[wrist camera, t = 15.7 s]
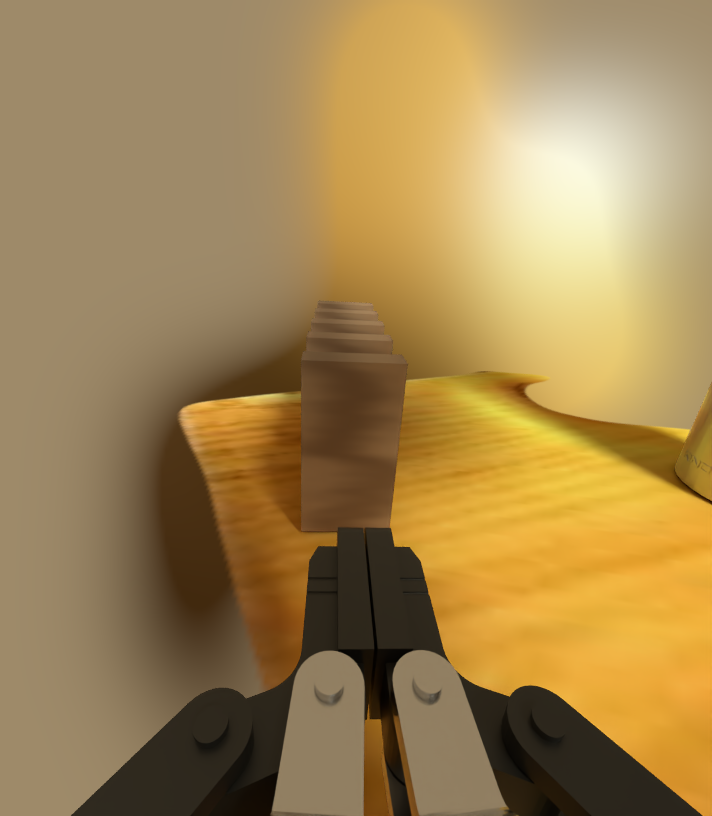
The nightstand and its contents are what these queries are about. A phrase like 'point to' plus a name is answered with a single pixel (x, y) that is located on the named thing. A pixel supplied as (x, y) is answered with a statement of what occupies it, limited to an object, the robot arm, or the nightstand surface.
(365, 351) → the tile
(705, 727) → the nightstand surface
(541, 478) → the nightstand surface
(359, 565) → the robot arm
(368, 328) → the tile
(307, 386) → the loose tile
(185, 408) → the nightstand surface
